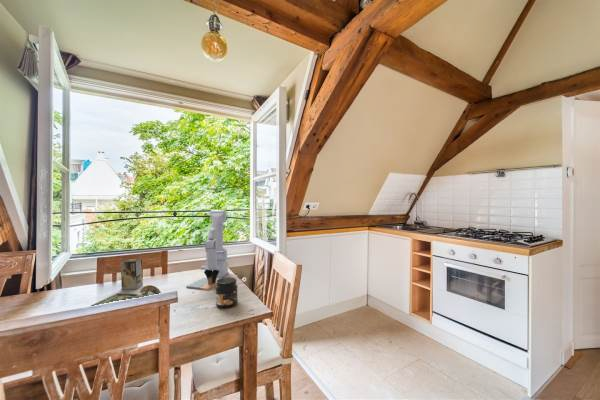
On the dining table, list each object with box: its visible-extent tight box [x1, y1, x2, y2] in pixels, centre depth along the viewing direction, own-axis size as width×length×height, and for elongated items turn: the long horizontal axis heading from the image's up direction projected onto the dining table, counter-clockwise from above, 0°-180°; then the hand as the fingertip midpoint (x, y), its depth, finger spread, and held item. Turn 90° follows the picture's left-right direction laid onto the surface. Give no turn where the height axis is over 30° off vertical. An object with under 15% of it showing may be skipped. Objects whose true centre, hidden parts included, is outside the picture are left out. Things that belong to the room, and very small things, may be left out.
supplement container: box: [214, 276, 239, 309], centre depth 123 cm, size 10×10×12 cm
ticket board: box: [186, 277, 208, 290], centre depth 152 cm, size 15×9×1 cm, turn 163°
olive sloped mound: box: [90, 284, 162, 306], centre depth 127 cm, size 33×8×20 cm
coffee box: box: [120, 258, 144, 290], centre depth 148 cm, size 9×6×16 cm
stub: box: [199, 276, 220, 291], centre depth 149 cm, size 15×5×5 cm, turn 163°
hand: (212, 282), depth 149 cm, fingers closed on stub, 2 cm apart
